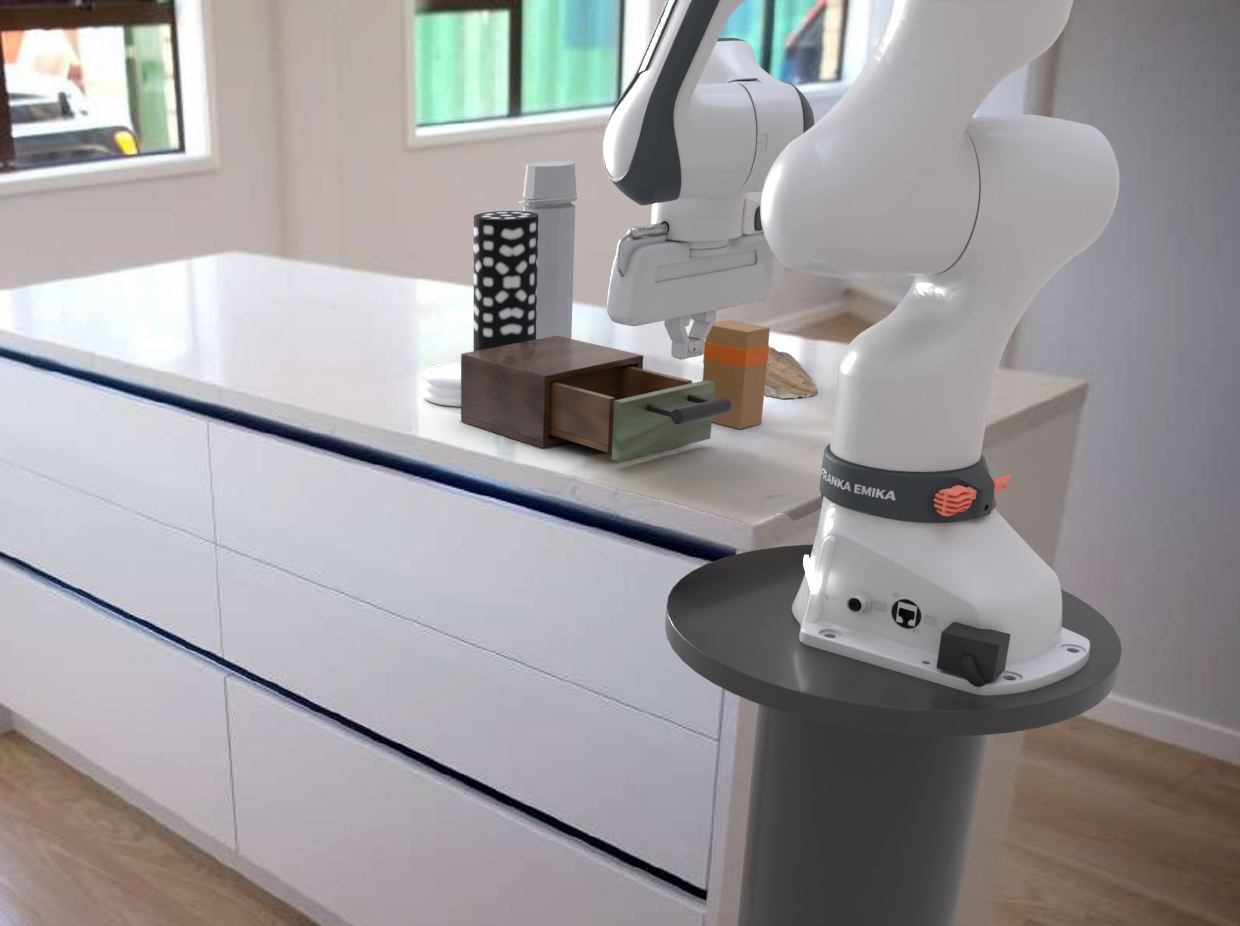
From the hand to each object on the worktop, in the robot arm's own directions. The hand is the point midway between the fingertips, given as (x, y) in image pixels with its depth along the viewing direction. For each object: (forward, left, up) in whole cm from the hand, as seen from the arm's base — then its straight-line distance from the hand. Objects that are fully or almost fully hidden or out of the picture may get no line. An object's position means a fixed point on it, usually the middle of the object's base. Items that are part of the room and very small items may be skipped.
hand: (687, 356), depth 144 cm
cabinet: (+21, 0, -11) cm, 23 cm away
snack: (+8, -16, -11) cm, 21 cm away
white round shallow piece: (+37, 0, -11) cm, 38 cm away
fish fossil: (+21, -36, -11) cm, 43 cm away
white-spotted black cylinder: (+46, -14, -11) cm, 49 cm away
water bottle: (+53, -27, -11) cm, 60 cm away
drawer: (+6, 0, -10) cm, 12 cm away
